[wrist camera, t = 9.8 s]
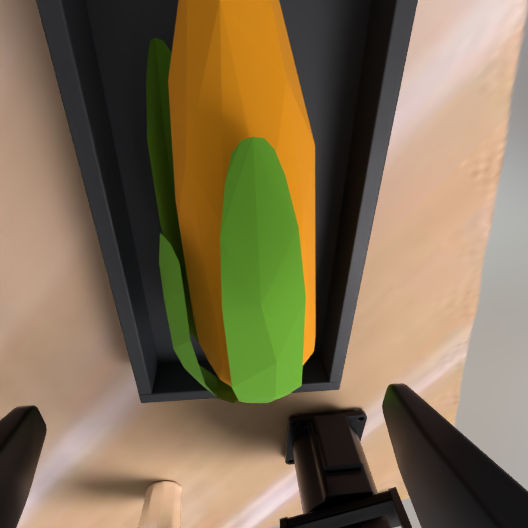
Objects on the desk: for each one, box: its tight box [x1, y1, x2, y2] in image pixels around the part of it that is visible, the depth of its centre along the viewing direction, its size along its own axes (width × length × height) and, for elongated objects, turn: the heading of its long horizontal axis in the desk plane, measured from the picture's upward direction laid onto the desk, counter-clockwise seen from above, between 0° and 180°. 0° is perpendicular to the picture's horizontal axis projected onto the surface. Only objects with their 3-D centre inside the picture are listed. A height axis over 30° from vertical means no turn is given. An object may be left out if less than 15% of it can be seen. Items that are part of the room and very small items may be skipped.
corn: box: [146, 0, 316, 403], centre depth 14 cm, size 7×8×20 cm
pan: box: [36, 0, 418, 403], centre depth 17 cm, size 25×13×3 cm, turn 179°
